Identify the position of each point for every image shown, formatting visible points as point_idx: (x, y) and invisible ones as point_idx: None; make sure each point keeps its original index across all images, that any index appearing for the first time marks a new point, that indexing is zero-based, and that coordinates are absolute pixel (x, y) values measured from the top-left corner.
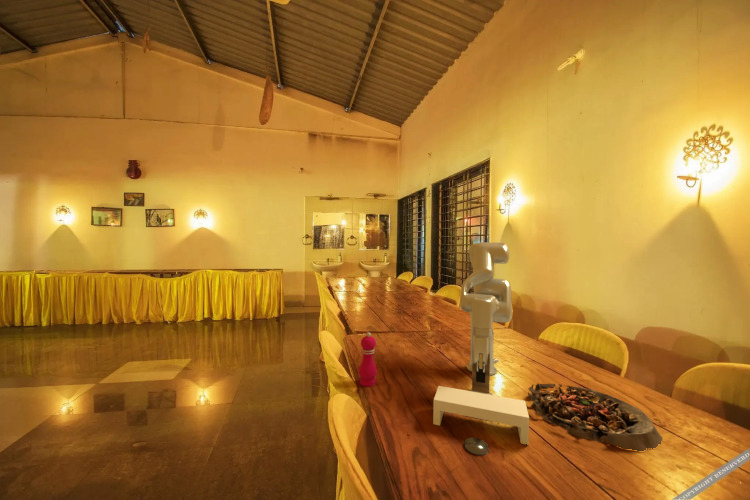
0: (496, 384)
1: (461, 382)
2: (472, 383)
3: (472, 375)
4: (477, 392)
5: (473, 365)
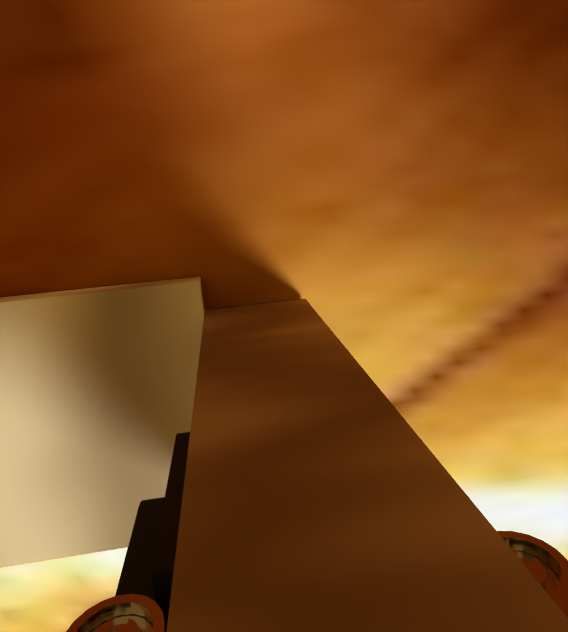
0: (537, 502)
1: (449, 135)
2: (201, 350)
3: (195, 404)
4: (175, 387)
5: (183, 608)
